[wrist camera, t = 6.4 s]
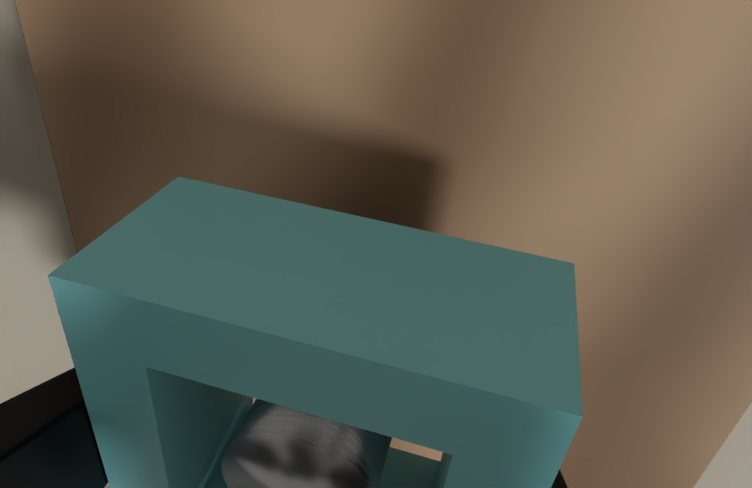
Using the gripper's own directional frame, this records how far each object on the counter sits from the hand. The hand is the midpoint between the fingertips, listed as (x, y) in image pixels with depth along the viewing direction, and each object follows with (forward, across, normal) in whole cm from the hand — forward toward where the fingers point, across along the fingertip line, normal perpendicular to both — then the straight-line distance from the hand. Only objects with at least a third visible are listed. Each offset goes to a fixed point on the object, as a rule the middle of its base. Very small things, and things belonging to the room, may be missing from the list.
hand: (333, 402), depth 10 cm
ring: (+1, 0, 0) cm, 1 cm away
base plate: (+4, 0, 0) cm, 4 cm away
